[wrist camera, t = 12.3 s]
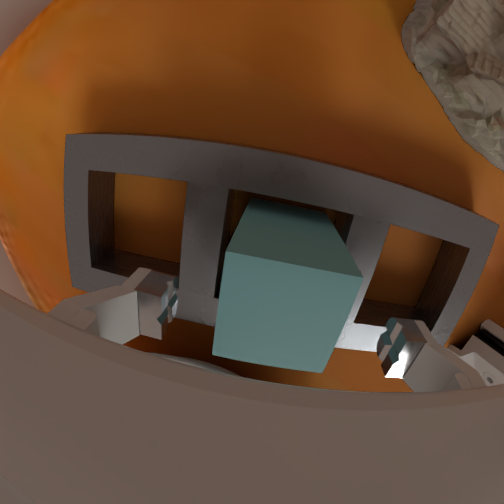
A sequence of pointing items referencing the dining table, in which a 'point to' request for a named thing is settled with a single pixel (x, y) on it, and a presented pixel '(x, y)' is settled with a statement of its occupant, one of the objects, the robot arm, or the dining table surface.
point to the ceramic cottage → (463, 66)
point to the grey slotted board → (272, 184)
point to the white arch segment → (485, 353)
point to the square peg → (284, 288)
